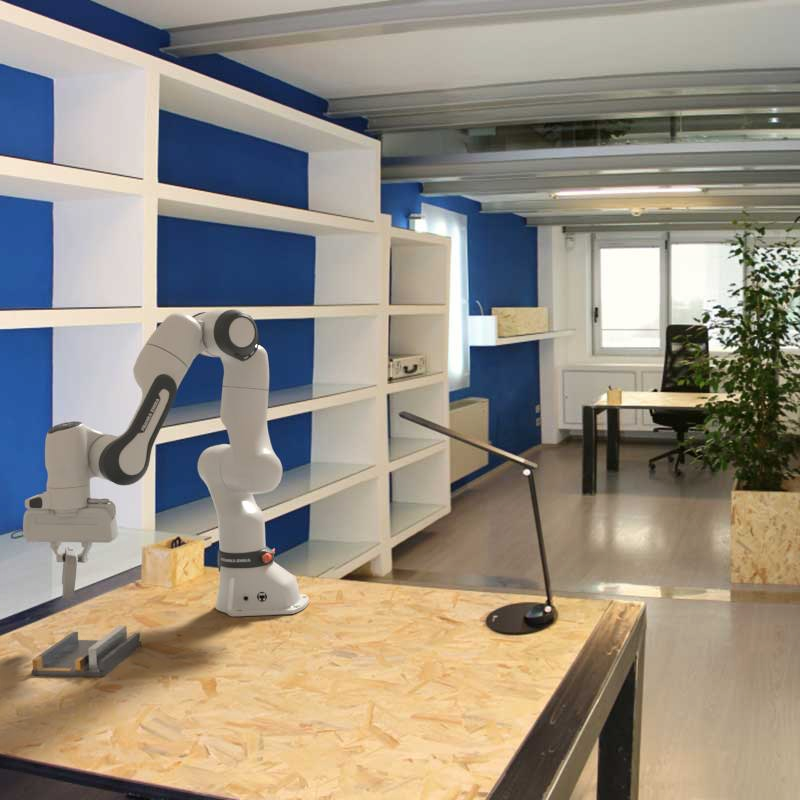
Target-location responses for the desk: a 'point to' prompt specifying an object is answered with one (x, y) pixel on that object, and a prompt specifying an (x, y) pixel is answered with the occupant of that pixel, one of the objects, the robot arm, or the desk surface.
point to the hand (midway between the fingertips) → (72, 562)
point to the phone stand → (86, 655)
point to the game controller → (69, 573)
